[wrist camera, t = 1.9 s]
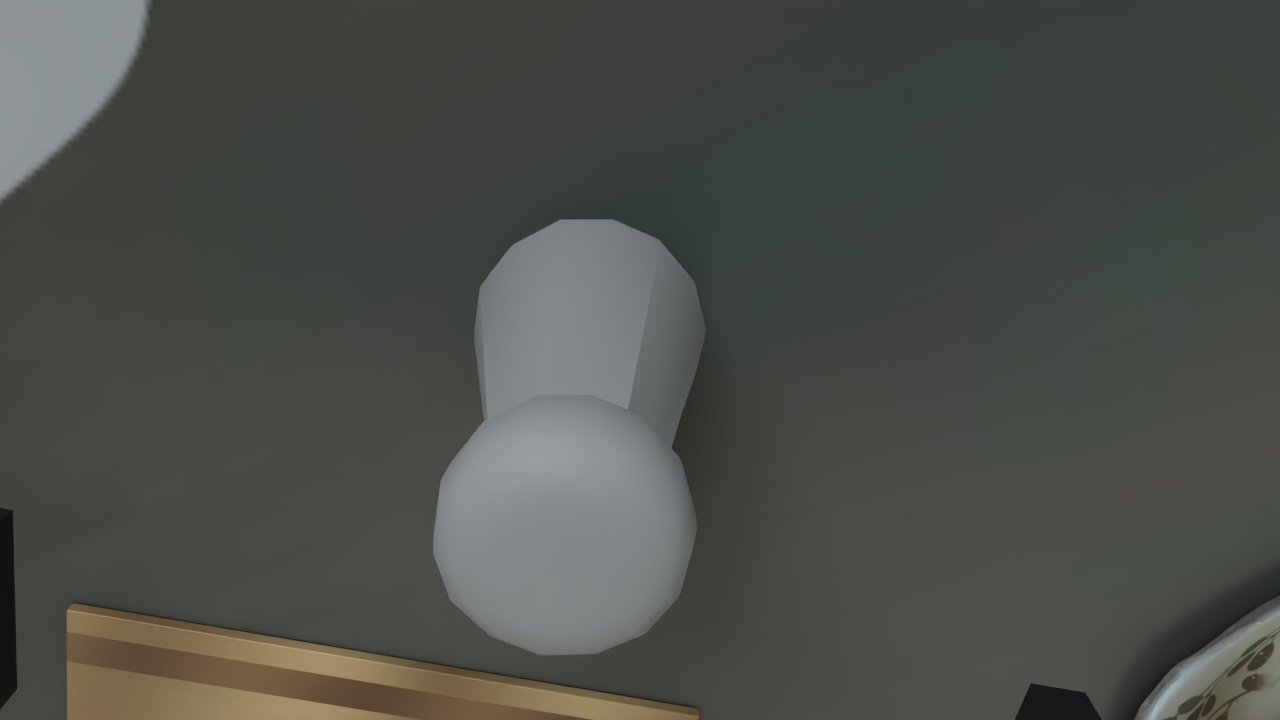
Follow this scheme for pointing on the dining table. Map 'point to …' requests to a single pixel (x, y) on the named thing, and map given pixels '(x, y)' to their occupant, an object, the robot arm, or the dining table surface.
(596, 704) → the placemat
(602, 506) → the salt shaker
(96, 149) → the dining table surface
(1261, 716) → the salad plate
